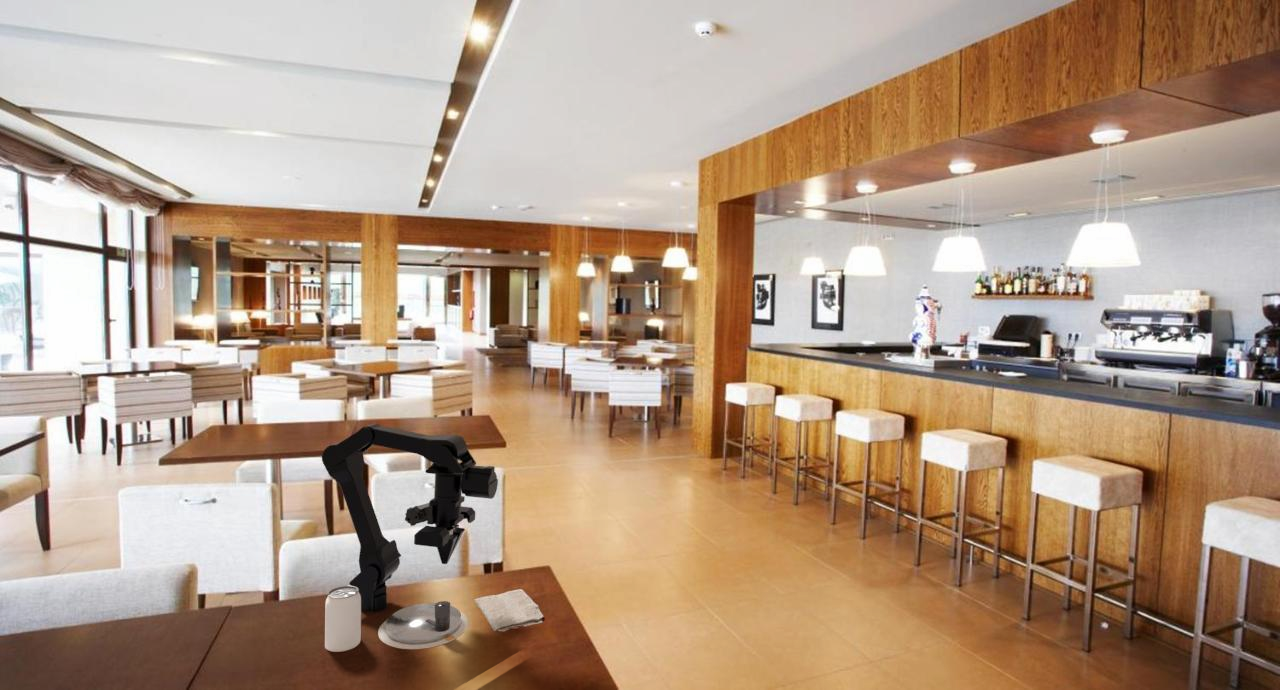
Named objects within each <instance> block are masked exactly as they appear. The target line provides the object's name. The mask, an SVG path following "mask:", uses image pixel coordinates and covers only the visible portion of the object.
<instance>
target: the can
mask: <svg viewBox="0 0 1280 690" xmlns="http://www.w3.org/2000/svg"><path fill="white" fill-rule="evenodd" d="M327 595H328V596H327V597H326V599H325V602H324V603H325V608H324V612H325V613H324V614H325V615H324V649H326V650H327V651H329V652H334V653H339V652H346V651H349V650H352V649H354V648H356V647H358V646H359V644H360V643H361V638H362V637H361V634H362V633H361V631H362V630H361V629H362V625H361V624H362V611H361V596H360V594H359V589H358V588H357V587H355V586H350V585H343V586H342V585H341V586H337V587H335V588H332V589H331V590H329V591H328V593H327Z"/></svg>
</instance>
